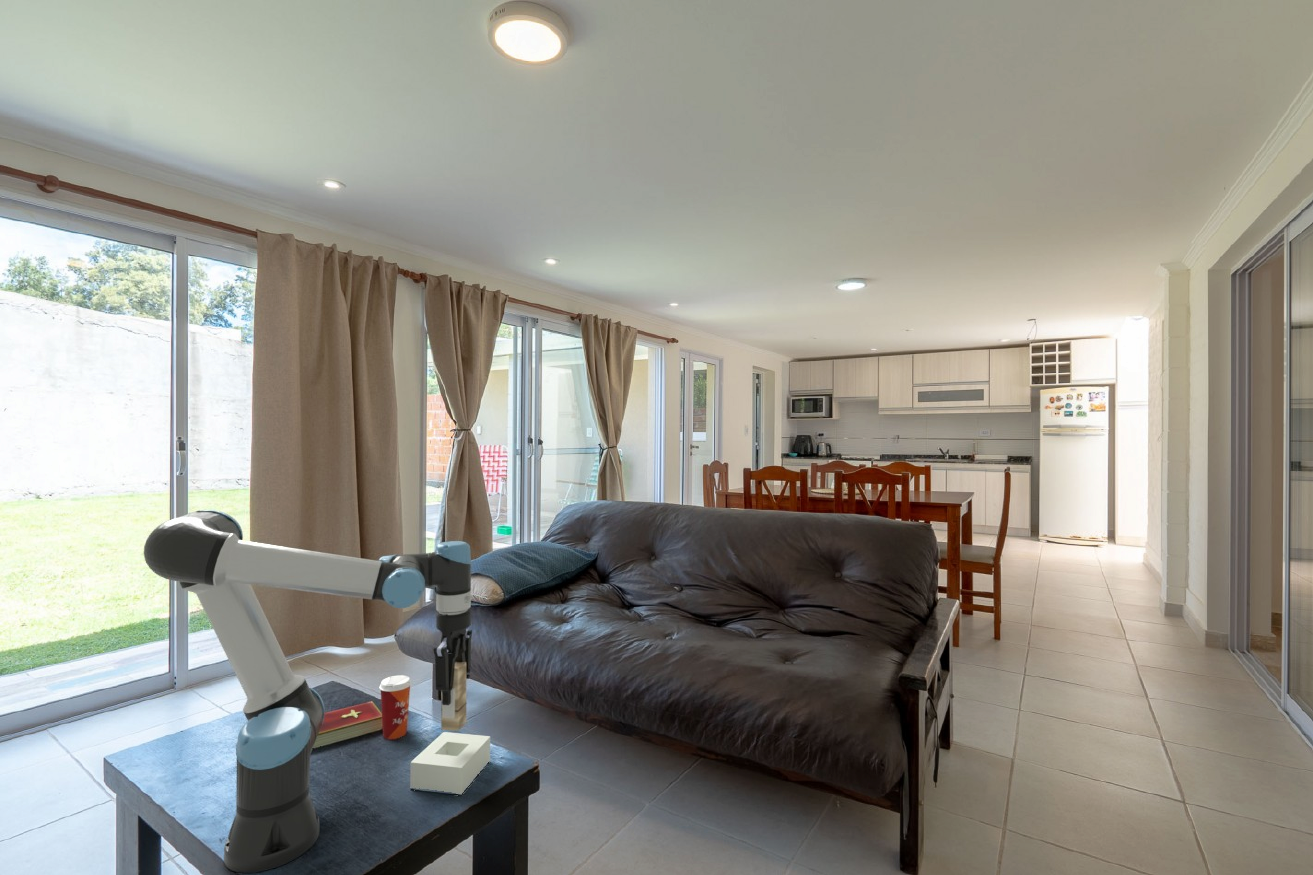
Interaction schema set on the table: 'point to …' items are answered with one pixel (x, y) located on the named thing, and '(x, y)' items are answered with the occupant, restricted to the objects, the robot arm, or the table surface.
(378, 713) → the hardcover book
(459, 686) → the maple peg
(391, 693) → the paper cup
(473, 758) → the socket block
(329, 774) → the table surface
